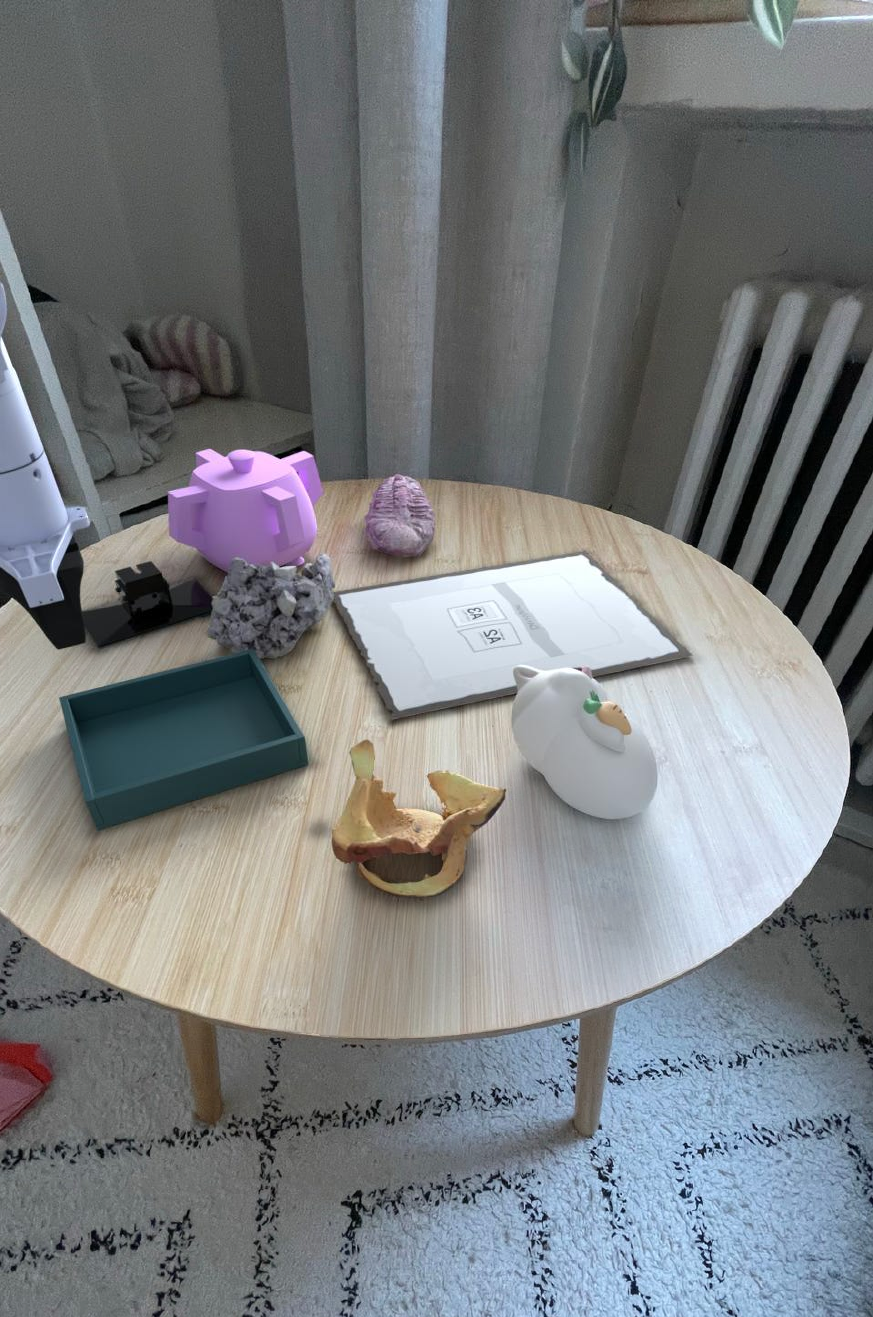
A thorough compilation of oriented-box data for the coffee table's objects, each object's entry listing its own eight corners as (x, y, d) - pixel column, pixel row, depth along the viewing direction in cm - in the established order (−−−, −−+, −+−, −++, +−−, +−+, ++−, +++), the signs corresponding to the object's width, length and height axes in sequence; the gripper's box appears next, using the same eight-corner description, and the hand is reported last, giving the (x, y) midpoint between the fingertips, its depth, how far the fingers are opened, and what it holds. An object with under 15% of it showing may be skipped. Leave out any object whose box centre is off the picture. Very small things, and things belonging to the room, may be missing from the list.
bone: (357, 936, 50) (349, 852, 44) (310, 833, 56) (298, 747, 50) (519, 877, 53) (531, 792, 48) (457, 786, 60) (462, 702, 54)
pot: (230, 621, 76) (208, 507, 68) (144, 557, 85) (115, 449, 77) (370, 562, 85) (365, 456, 77) (279, 510, 94) (266, 409, 86)
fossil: (430, 508, 95) (432, 466, 92) (438, 565, 85) (440, 520, 82) (365, 507, 95) (363, 465, 91) (364, 565, 85) (363, 520, 81)
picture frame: (391, 720, 65) (692, 656, 73) (391, 718, 65) (693, 654, 73) (328, 593, 80) (585, 552, 88) (328, 591, 80) (585, 549, 87)
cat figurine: (681, 741, 50) (543, 611, 58) (585, 820, 50) (461, 680, 58) (693, 792, 58) (570, 672, 66) (610, 860, 58) (498, 733, 66)
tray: (97, 830, 56) (85, 801, 54) (70, 725, 64) (58, 696, 62) (308, 765, 61) (305, 736, 59) (258, 675, 70) (253, 648, 68)
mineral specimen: (340, 567, 77) (288, 507, 68) (366, 640, 73) (314, 587, 64) (239, 623, 79) (176, 573, 70) (259, 697, 75) (195, 654, 67)
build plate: (194, 581, 82) (186, 540, 78) (223, 612, 77) (215, 570, 74) (75, 615, 76) (61, 573, 73) (99, 650, 72) (85, 607, 69)
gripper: (81, 490, 44) (146, 680, 53) (47, 406, 53) (108, 581, 62) (-55, 517, 41) (38, 710, 51) (-66, 425, 50) (15, 603, 60)
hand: (70, 641), depth 56 cm, fingers closed
